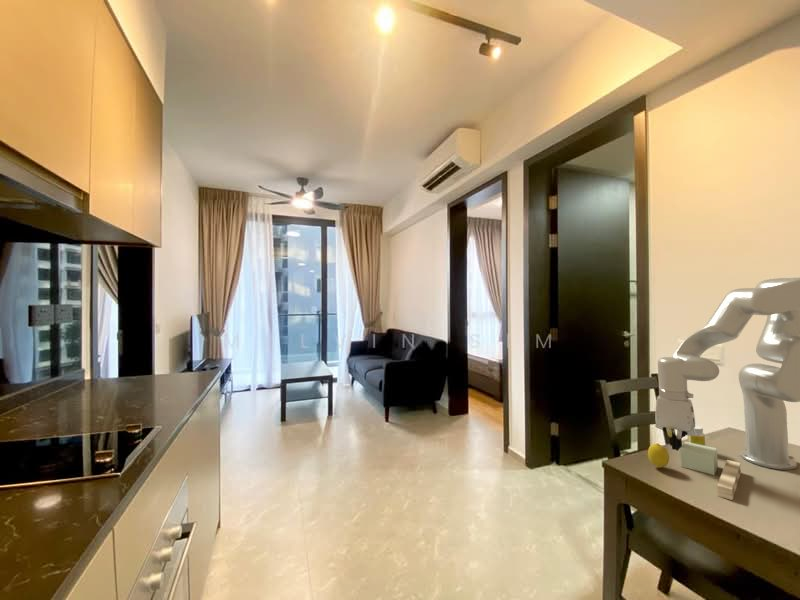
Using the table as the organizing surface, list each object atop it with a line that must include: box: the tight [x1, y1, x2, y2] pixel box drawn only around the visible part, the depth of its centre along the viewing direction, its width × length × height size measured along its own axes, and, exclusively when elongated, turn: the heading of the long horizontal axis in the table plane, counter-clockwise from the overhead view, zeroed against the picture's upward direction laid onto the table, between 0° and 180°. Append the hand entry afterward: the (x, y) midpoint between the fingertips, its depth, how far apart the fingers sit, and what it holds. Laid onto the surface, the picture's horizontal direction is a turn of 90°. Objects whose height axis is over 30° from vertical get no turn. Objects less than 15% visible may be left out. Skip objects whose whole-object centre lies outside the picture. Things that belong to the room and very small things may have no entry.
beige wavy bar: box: [716, 459, 742, 501], centre depth 101 cm, size 20×3×3 cm, turn 131°
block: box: [679, 441, 719, 476], centre depth 111 cm, size 7×8×6 cm
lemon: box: [647, 443, 670, 469], centre depth 112 cm, size 6×6×8 cm
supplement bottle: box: [686, 424, 706, 446], centre depth 122 cm, size 5×5×8 cm
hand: (676, 448), depth 115 cm, fingers closed
